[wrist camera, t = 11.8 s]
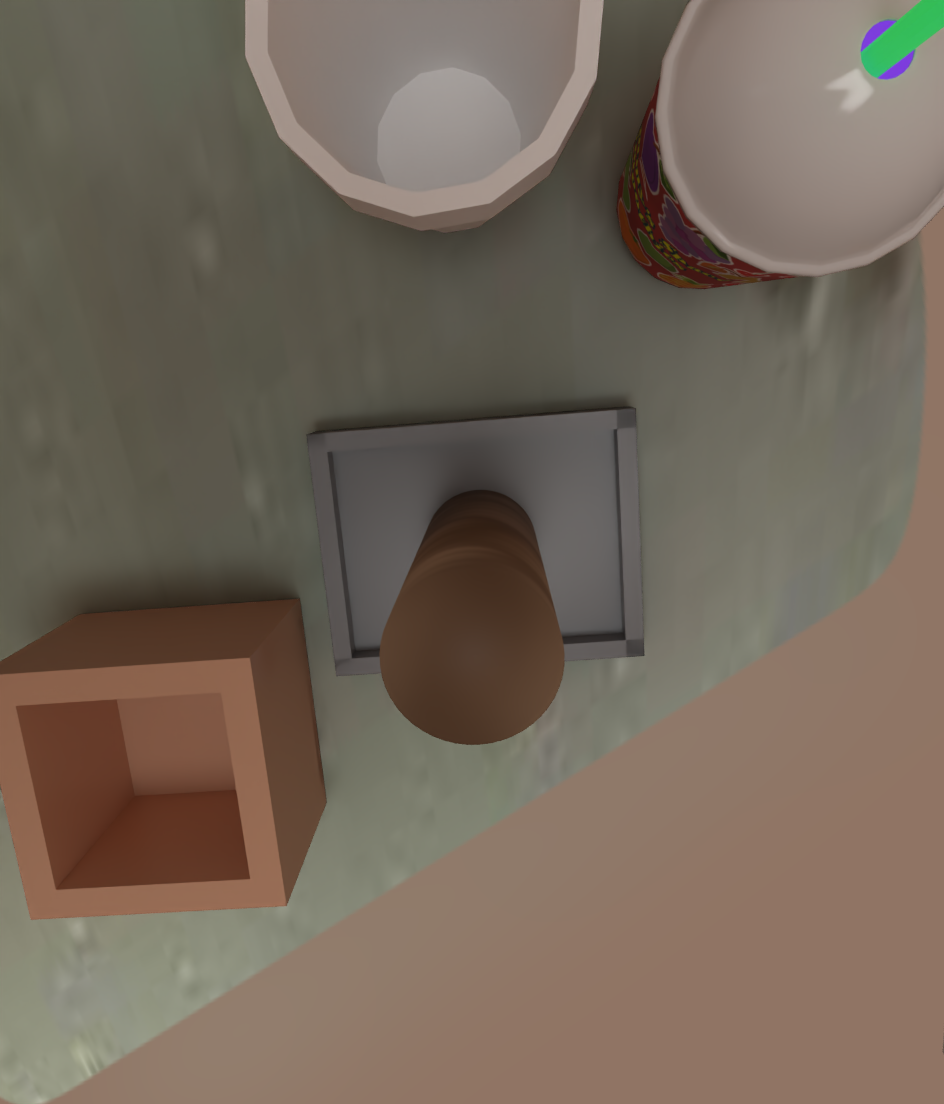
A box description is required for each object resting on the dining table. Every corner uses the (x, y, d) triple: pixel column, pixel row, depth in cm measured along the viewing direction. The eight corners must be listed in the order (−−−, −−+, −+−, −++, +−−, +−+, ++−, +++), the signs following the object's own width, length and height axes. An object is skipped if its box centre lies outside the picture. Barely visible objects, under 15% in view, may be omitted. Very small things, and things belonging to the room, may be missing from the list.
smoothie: (556, 173, 34) (641, -94, 14) (736, 54, 33) (1094, -412, 13) (653, 348, 35) (851, 324, 16) (829, 241, 34) (1276, 71, 15)
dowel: (430, 601, 37) (389, 750, 23) (420, 494, 36) (370, 575, 21) (539, 594, 37) (569, 739, 22) (532, 485, 36) (559, 562, 21)
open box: (119, 814, 41) (30, 919, 33) (80, 614, 39) (-25, 676, 31) (326, 802, 40) (286, 906, 33) (299, 598, 38) (249, 657, 30)
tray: (343, 662, 39) (336, 676, 37) (315, 431, 36) (306, 434, 35) (637, 642, 38) (644, 655, 36) (628, 406, 36) (635, 408, 34)
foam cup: (594, 219, 34) (652, 132, 21) (392, 306, 35) (335, 271, 22) (511, -16, 32) (522, -263, 20) (301, 82, 33) (183, -93, 21)
